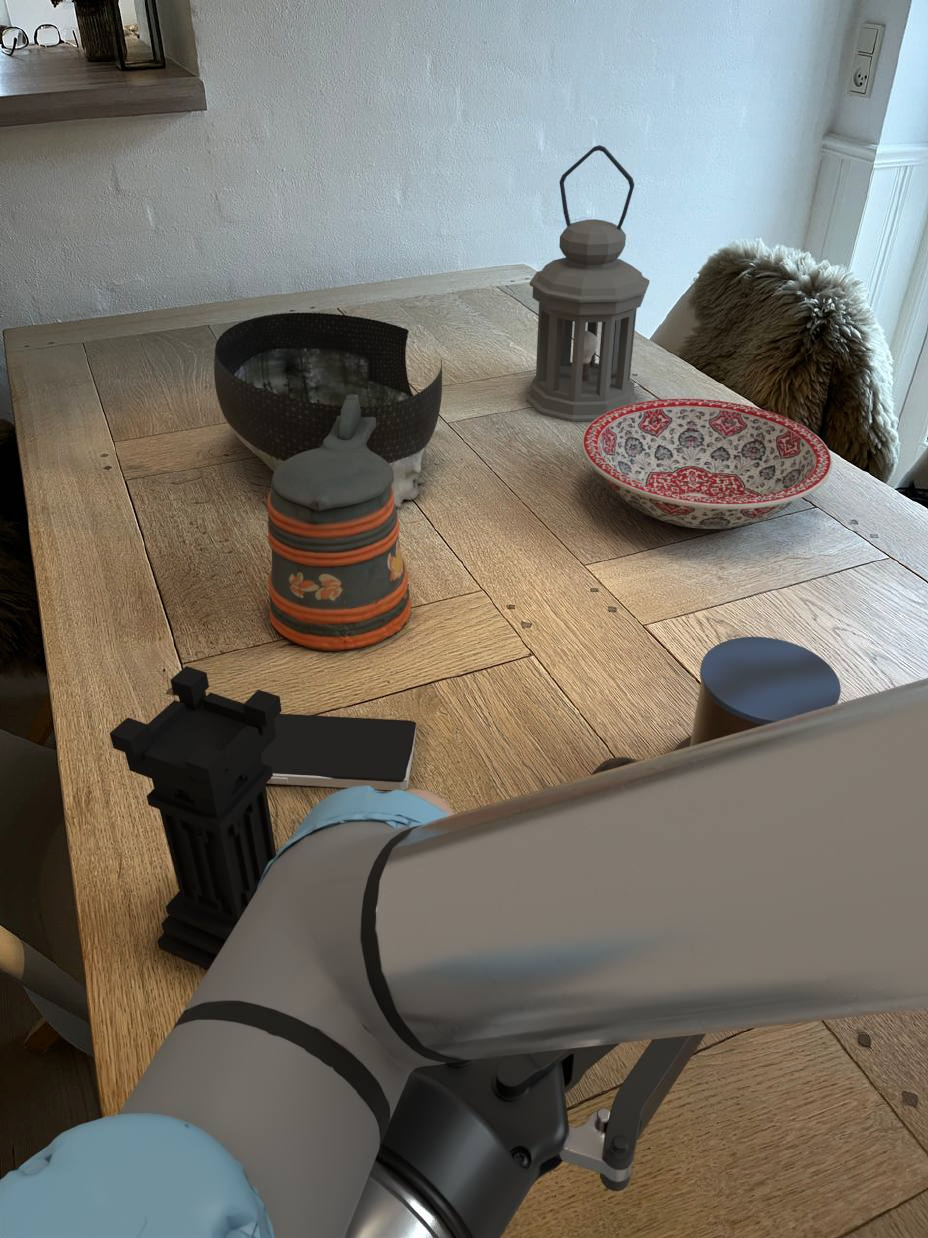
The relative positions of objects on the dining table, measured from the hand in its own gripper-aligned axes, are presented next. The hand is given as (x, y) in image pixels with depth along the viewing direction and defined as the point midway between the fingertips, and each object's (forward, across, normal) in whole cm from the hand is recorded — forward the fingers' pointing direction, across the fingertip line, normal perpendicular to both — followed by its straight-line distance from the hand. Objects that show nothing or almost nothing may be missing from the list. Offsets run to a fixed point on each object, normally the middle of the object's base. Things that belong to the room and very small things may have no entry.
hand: (657, 835), depth 53 cm
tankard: (+29, -48, -20) cm, 60 cm away
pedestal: (+26, -2, -20) cm, 33 cm away
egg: (+3, -19, -20) cm, 28 cm away
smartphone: (+10, -34, -20) cm, 40 cm away
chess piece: (-7, -27, -20) cm, 34 cm away
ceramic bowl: (+70, -26, -20) cm, 77 cm away
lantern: (+91, -54, -20) cm, 107 cm away
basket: (+53, -70, -20) cm, 91 cm away
